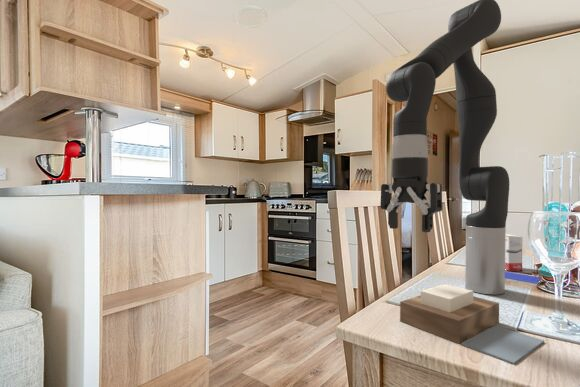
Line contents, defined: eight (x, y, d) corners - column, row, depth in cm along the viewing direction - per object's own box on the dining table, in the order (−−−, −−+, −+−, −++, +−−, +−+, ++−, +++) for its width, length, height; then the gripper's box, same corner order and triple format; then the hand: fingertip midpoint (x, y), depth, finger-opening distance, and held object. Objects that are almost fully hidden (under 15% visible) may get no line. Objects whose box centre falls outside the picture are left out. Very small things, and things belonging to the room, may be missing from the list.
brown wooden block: (442, 305, 77) (442, 288, 77) (498, 322, 67) (499, 302, 67) (400, 321, 68) (400, 301, 67) (458, 343, 58) (458, 320, 58)
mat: (495, 326, 65) (495, 325, 65) (544, 342, 58) (544, 340, 58) (461, 344, 57) (461, 342, 57) (513, 364, 51) (513, 362, 51)
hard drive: (487, 273, 103) (536, 282, 94) (496, 269, 108) (542, 277, 99) (487, 278, 103) (536, 287, 94) (495, 274, 108) (542, 282, 99)
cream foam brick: (444, 295, 72) (444, 283, 72) (473, 303, 67) (473, 290, 67) (420, 303, 67) (420, 291, 66) (449, 312, 62) (449, 299, 62)
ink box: (523, 271, 110) (523, 236, 110) (508, 271, 110) (508, 236, 110) (506, 265, 118) (507, 232, 118) (492, 265, 118) (493, 232, 118)
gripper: (449, 155, 70) (449, 232, 70) (393, 160, 82) (392, 226, 82) (429, 153, 66) (429, 235, 66) (373, 158, 77) (372, 228, 77)
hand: (409, 230), depth 74 cm, fingers open, 8 cm apart
